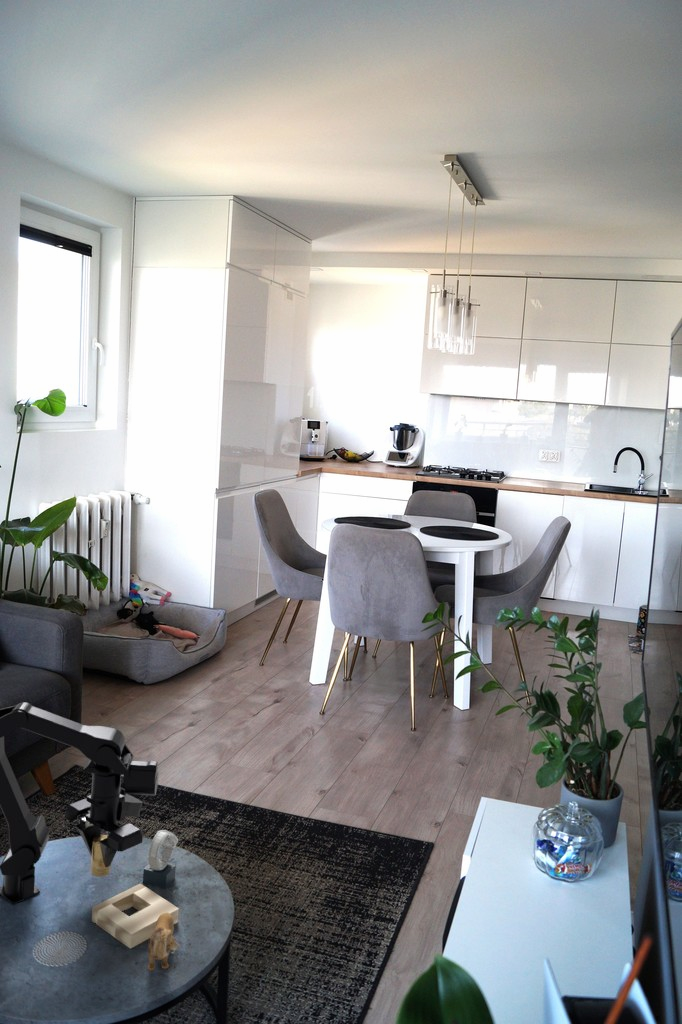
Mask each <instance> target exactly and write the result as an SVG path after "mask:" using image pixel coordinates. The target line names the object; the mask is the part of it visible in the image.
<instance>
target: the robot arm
mask: <svg viewBox="0 0 682 1024" xmlns="http://www.w3.org/2000/svg"><path fill="white" fill-rule="evenodd" d="M19 729H22V730H26V731H29V732H32V733H33V734H34V733H35V734H37V735H40V736H42V737H45V738H48V739H50V740H53V741H56V742H58V743H61V744H64V745H67V746H70V747H73V748H75V749H76V750H78V751H79V752H80V753H81V754H82V755H83V756H84V757H85V758H86V759H88V760H89V761H87V762H86V763H85V765H84V766H83V769H82V772H83V774H92V778H91V780H92V781H91V793H90V794H89V795H87V796H86V798H84V799H81V800H78V801H76V802H72V803H71V804H69V805H68V806H67V807H66V809H65V815H64V816H65V819H66V820H67V821H69V822H71V823H72V824H73V823H76V821H78V824H76V825H75V829H77V830H78V832H79V835H80V836H81V838H82V840H83V842H84V844H85V846H86V848H87V851H88V852H89V854H90V857H91V858H92V843H93V838H95V837H96V836H99V835H102V832H104V833H106V834H107V835H108V836H107V838H106V839H103V840H101V841H99V843H100V847H101V852H102V857H103V862H104V865H105V867H109V866H110V865H111V866H112V863H113V861H114V858H115V856H116V854H117V852H124V851H126V850H129V849H131V848H133V847H135V846H139V845H140V844H142V843H143V840H144V831H143V830H141V829H140V828H138V827H136V826H135V825H133V824H131V823H126V824H119V823H118V822H122V821H125V820H126V817H134V818H138V817H139V815H140V812H141V808H142V806H143V803H144V802H143V801H142V800H140V799H138V798H136V797H135V796H137V795H138V796H154V797H155V796H156V794H157V790H158V784H159V776H160V775H159V767H158V764H159V763H158V761H155V760H150V761H149V760H148V761H141V760H139V761H138V760H133V759H134V757H135V756H134V754H133V752H132V751H131V750H130V748H129V747H128V746H127V744H126V739H125V736H124V735H123V732H121V730H119V729H117V728H113V727H110V726H109V727H108V726H103V725H86V724H83V723H80V722H76V721H75V720H71V719H68V718H66V717H64V716H60V715H58V714H55V713H53V712H50V711H48V710H44V709H42V708H39V707H36V706H34V705H32V704H31V703H29V702H24V701H23V702H20V703H18V704H14V705H12V706H7V707H3V708H0V809H1V811H2V813H3V816H4V818H5V820H6V823H7V825H8V837H9V838H8V842H9V848H8V850H7V852H6V854H5V856H4V857H3V859H2V861H1V862H0V873H1V875H2V876H3V879H2V885H1V886H0V896H1V897H3V898H4V900H6V901H7V900H8V902H9V903H10V904H11V903H12V905H14V904H13V903H15V904H17V903H19V901H20V902H22V901H23V899H24V900H26V899H28V898H31V897H32V896H35V895H36V894H39V893H41V888H39V887H38V886H36V885H35V883H36V876H35V875H36V872H35V871H36V867H35V864H37V863H38V862H39V860H40V859H41V857H42V854H43V852H44V851H45V849H46V846H47V844H48V842H49V839H50V836H49V833H50V832H51V829H50V828H49V827H48V826H47V823H46V821H45V820H46V819H45V817H44V814H41V815H39V816H38V817H36V815H34V814H33V813H32V812H31V811H30V809H29V807H28V804H27V802H26V800H25V796H24V795H23V792H22V790H21V788H20V785H19V782H18V780H17V778H16V774H14V771H13V769H12V766H11V764H10V762H9V759H8V757H7V755H6V751H5V736H6V735H8V734H10V733H12V732H14V731H16V730H19ZM122 776H123V779H122ZM121 783H122V784H121ZM121 785H122V787H121ZM133 795H135V796H133ZM78 819H79V820H78ZM21 900H22V901H21ZM16 902H17V903H16Z"/></svg>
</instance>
